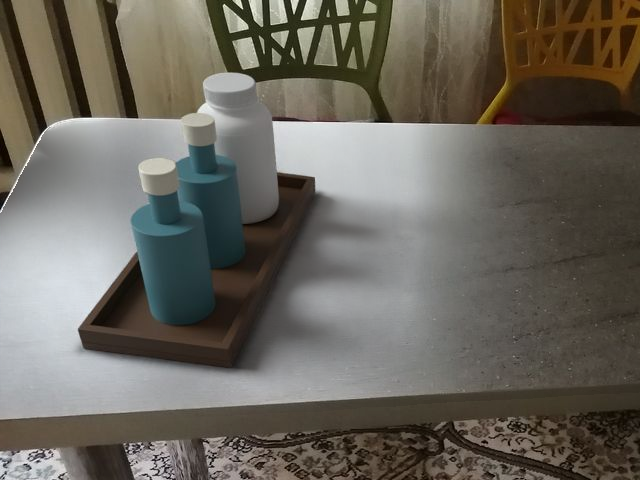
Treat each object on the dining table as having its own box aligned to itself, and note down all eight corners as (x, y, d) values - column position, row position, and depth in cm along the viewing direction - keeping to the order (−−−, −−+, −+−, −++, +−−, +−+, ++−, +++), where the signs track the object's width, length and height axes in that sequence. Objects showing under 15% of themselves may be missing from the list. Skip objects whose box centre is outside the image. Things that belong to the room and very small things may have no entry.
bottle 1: (203, 329, 70) (179, 187, 60) (140, 321, 70) (106, 178, 60) (224, 292, 75) (205, 154, 65) (164, 284, 75) (136, 145, 65)
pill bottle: (195, 202, 87) (175, 75, 77) (256, 184, 91) (245, 61, 81) (230, 233, 83) (214, 103, 73) (292, 213, 87) (285, 87, 77)
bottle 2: (235, 272, 77) (218, 137, 68) (178, 264, 77) (153, 128, 68) (252, 241, 82) (239, 110, 72) (198, 234, 82) (178, 102, 72)
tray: (231, 368, 68) (228, 349, 66) (83, 348, 68) (77, 329, 66) (315, 193, 93) (315, 176, 91) (207, 179, 93) (204, 162, 91)
